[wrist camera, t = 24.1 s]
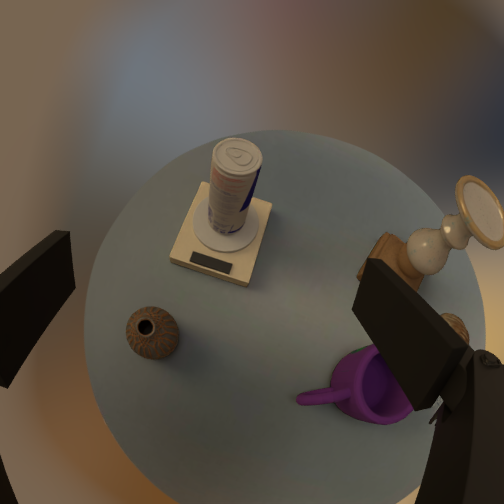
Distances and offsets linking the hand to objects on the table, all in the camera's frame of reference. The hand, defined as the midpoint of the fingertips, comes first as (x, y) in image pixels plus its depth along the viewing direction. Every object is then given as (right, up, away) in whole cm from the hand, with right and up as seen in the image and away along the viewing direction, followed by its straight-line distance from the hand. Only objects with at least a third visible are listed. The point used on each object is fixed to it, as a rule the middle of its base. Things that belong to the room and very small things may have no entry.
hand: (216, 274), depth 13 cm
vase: (-12, -11, +28) cm, 33 cm away
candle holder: (+26, -3, +38) cm, 46 cm away
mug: (+15, -20, +29) cm, 38 cm away
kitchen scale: (-3, +4, +36) cm, 36 cm away
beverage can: (-2, +6, +34) cm, 34 cm away
